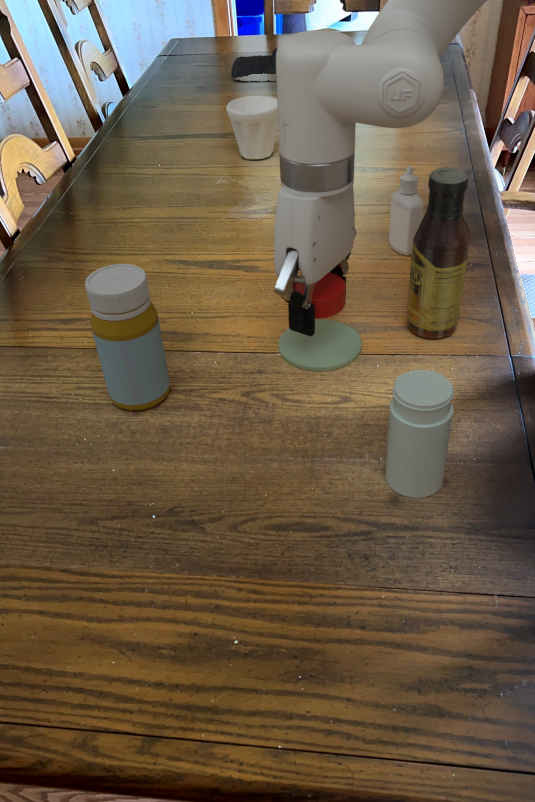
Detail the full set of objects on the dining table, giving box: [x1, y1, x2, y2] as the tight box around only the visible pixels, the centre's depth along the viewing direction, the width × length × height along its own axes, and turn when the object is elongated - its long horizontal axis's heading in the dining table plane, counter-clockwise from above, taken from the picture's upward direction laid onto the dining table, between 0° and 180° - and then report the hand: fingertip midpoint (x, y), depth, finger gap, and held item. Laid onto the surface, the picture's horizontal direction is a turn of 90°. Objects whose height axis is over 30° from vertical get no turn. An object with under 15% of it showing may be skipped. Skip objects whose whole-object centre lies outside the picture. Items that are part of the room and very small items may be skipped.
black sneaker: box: [231, 47, 278, 78], centre depth 173 cm, size 15×22×5 cm
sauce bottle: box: [406, 166, 471, 340], centre depth 82 cm, size 6×6×20 cm
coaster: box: [278, 318, 363, 372], centre depth 86 cm, size 10×10×1 cm
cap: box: [296, 272, 346, 320], centre depth 82 cm, size 6×6×2 cm
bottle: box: [84, 263, 171, 412], centre depth 77 cm, size 7×7×15 cm
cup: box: [225, 95, 278, 159], centre depth 132 cm, size 10×10×9 cm
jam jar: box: [384, 369, 455, 499], centre depth 66 cm, size 6×6×11 cm
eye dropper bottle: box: [388, 166, 424, 257], centre depth 100 cm, size 4×6×12 cm
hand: (317, 316), depth 84 cm, fingers closed on cap, 6 cm apart
